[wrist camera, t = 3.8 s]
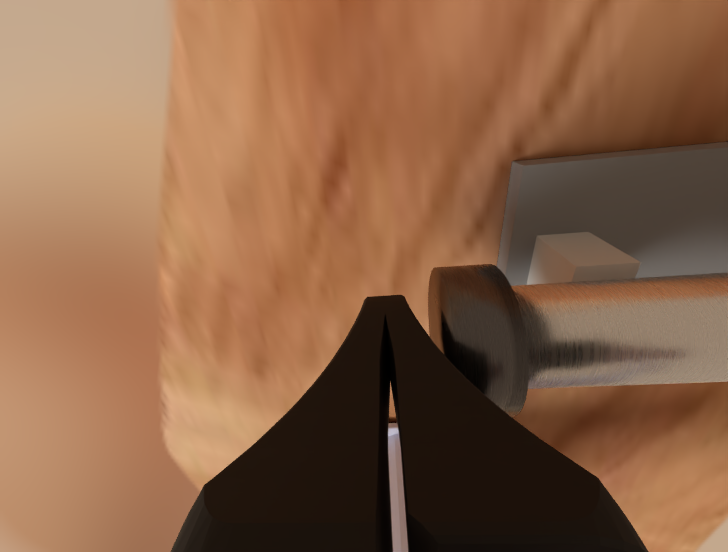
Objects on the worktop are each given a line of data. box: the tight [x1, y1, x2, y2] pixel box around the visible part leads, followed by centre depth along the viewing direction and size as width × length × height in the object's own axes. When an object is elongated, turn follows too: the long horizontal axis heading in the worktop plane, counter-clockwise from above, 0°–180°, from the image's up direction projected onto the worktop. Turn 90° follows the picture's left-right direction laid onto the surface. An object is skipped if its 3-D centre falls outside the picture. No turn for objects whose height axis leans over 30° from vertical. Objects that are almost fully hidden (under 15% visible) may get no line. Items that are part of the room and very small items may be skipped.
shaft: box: [428, 264, 728, 417], centre depth 8 cm, size 5×16×5 cm, turn 96°
